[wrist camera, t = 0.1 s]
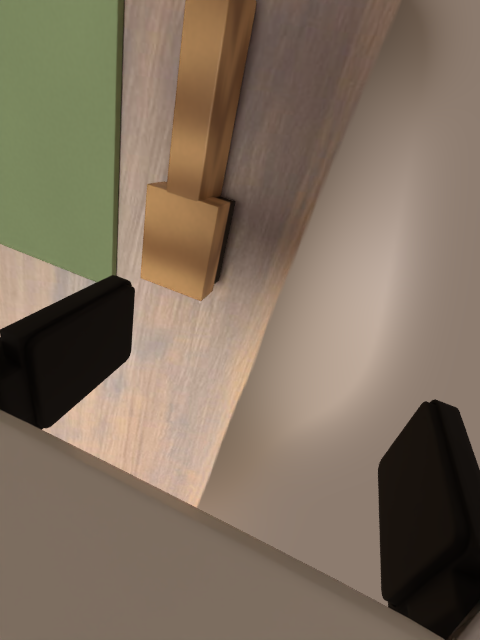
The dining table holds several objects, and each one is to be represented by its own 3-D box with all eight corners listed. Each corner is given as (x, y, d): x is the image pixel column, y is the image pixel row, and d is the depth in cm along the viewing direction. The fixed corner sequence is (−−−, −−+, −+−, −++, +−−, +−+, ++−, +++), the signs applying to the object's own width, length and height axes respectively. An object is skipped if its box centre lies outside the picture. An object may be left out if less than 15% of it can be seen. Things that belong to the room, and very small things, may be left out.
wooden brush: (197, -11, 18) (163, -43, 15) (281, 6, 17) (261, -25, 14) (166, 263, 26) (140, 278, 23) (221, 283, 25) (201, 301, 22)
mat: (-70, -109, 20) (-82, -116, 20) (126, -76, 18) (119, -83, 17) (-9, 236, 31) (-15, 238, 31) (116, 285, 29) (111, 288, 28)
